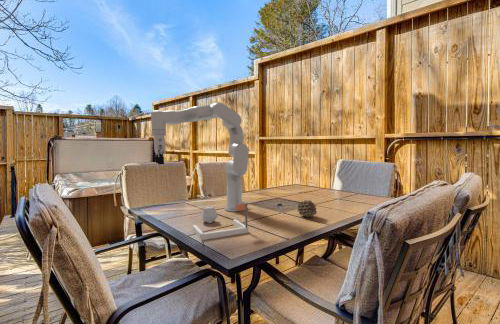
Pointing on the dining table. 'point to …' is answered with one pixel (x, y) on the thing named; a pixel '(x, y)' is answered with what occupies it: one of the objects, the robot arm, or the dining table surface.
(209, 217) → the die
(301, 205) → the pine cone
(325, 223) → the dining table surface
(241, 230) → the white stand base
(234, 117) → the robot arm
